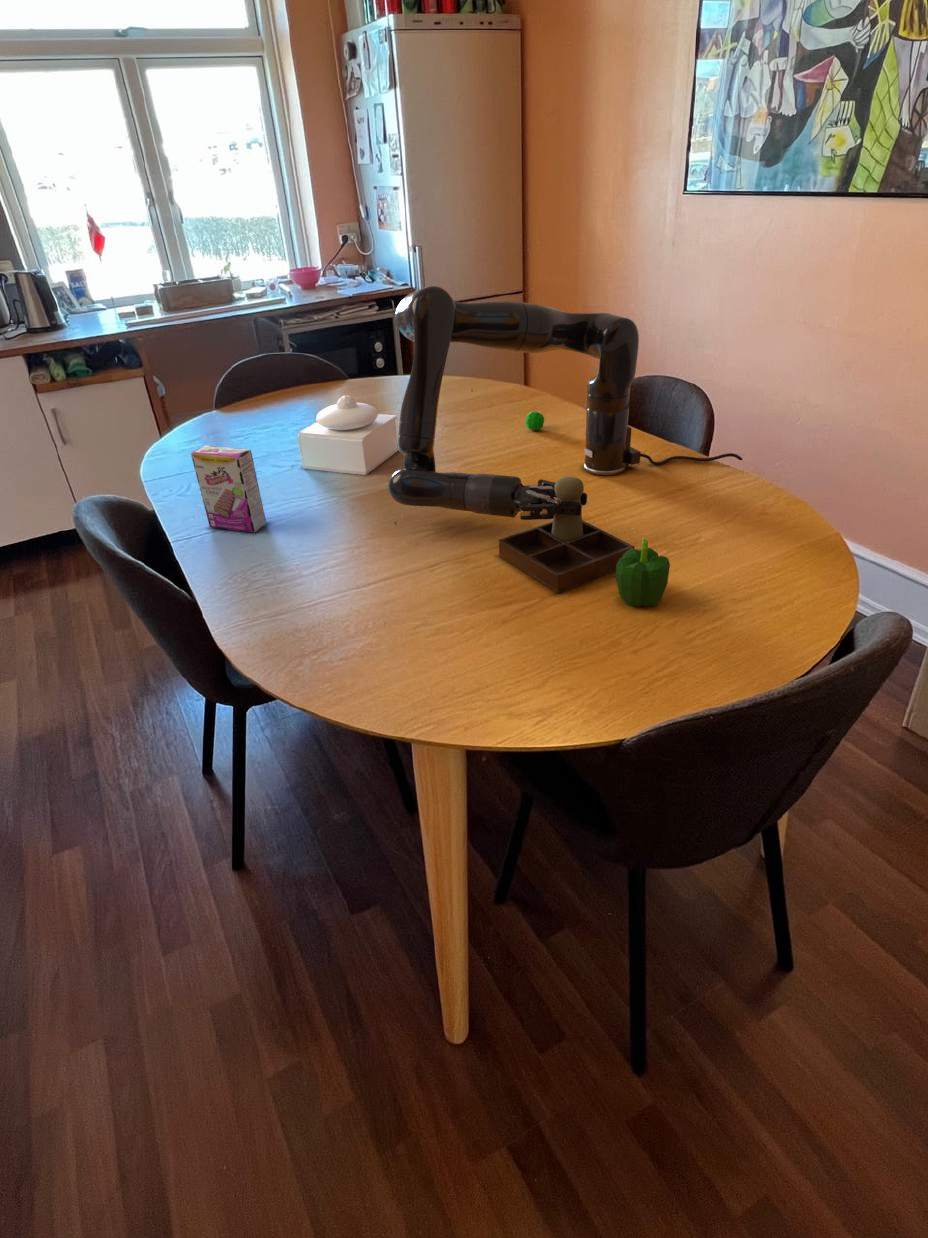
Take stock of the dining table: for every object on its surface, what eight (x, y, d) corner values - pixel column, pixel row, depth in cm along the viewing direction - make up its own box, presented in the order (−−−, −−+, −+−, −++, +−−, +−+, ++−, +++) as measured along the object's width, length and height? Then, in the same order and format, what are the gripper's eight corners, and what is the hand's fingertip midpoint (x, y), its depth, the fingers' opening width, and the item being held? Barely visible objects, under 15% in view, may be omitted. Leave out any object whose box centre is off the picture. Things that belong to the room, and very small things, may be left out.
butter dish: (302, 468, 181) (291, 403, 173) (340, 444, 195) (331, 382, 187) (366, 475, 175) (357, 408, 167) (399, 449, 189) (393, 386, 181)
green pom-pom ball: (547, 428, 197) (547, 410, 195) (538, 433, 194) (538, 415, 191) (530, 425, 200) (530, 408, 197) (522, 431, 196) (521, 413, 194)
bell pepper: (656, 618, 117) (661, 562, 111) (607, 606, 120) (610, 551, 115) (673, 594, 122) (680, 539, 117) (626, 583, 126) (630, 529, 121)
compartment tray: (571, 531, 144) (571, 514, 142) (633, 563, 132) (634, 546, 130) (499, 556, 137) (498, 539, 135) (557, 593, 125) (558, 575, 123)
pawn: (582, 543, 135) (585, 486, 129) (549, 541, 136) (550, 484, 130) (584, 528, 140) (587, 473, 134) (552, 527, 141) (554, 472, 135)
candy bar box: (208, 529, 154) (188, 452, 145) (222, 519, 158) (204, 444, 149) (254, 534, 151) (237, 456, 142) (268, 524, 155) (251, 447, 146)
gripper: (480, 490, 131) (576, 500, 126) (503, 462, 142) (592, 470, 137) (481, 529, 135) (574, 539, 130) (504, 498, 146) (590, 507, 141)
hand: (583, 504), depth 134 cm, fingers closed on pawn, 4 cm apart
